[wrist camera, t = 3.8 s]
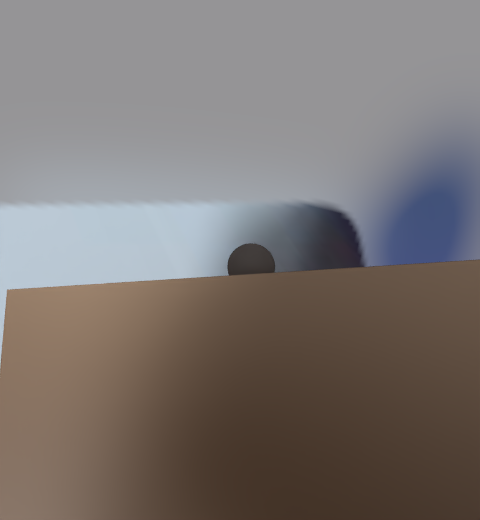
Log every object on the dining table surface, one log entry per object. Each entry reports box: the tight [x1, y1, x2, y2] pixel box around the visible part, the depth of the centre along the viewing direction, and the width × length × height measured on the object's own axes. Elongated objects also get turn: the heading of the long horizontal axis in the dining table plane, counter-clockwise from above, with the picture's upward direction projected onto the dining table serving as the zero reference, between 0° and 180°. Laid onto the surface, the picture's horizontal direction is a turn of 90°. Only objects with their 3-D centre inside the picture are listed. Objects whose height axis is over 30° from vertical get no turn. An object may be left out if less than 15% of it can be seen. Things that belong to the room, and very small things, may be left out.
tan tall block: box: [0, 244, 480, 520], centre depth 9 cm, size 6×5×14 cm
